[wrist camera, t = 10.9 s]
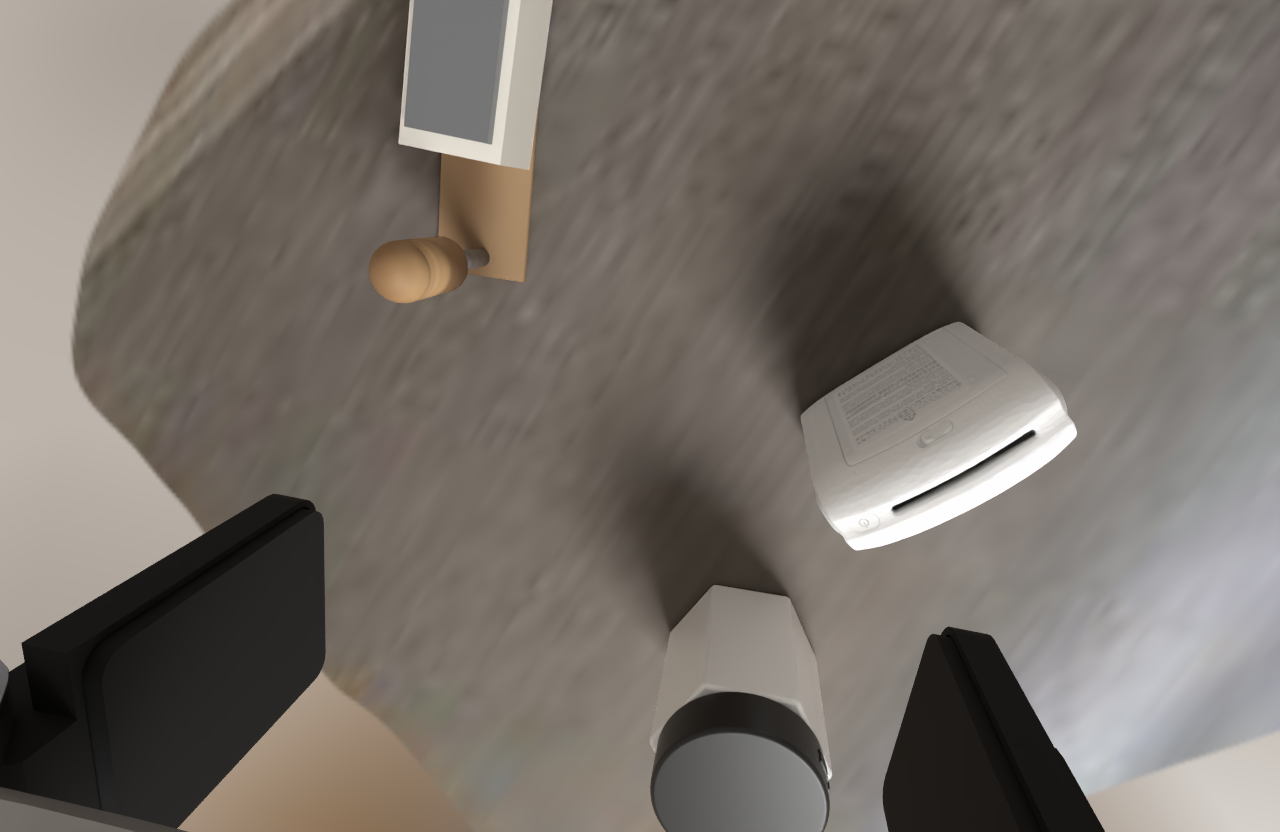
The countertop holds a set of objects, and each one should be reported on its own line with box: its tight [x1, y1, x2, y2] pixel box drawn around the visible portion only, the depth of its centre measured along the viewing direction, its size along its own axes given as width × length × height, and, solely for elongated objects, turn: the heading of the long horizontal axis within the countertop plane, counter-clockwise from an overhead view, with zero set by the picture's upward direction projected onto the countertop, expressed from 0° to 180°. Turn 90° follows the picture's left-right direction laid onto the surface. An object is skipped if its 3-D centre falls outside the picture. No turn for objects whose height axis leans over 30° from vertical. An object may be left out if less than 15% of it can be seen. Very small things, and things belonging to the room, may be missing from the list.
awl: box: [369, 236, 490, 303], centre depth 33 cm, size 3×3×10 cm
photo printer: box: [801, 322, 1077, 550], centre depth 31 cm, size 10×4×12 cm, turn 127°
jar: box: [649, 585, 832, 832], centre depth 37 cm, size 9×8×12 cm
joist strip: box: [438, 97, 540, 282], centre depth 36 cm, size 5×16×1 cm, turn 173°
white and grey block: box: [399, 0, 553, 170], centre depth 33 cm, size 5×8×5 cm, turn 169°
